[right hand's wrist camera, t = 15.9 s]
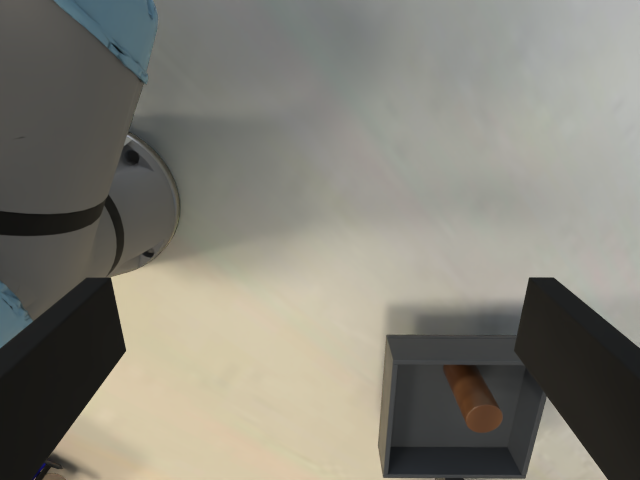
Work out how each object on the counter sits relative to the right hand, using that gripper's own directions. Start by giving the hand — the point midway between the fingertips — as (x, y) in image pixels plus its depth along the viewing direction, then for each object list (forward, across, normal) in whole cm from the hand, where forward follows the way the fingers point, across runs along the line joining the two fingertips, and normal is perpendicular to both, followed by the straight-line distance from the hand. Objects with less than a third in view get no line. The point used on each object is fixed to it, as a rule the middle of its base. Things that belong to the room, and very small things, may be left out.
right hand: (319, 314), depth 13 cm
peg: (+23, +14, -20) cm, 34 cm away
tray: (+23, +14, -31) cm, 41 cm away
